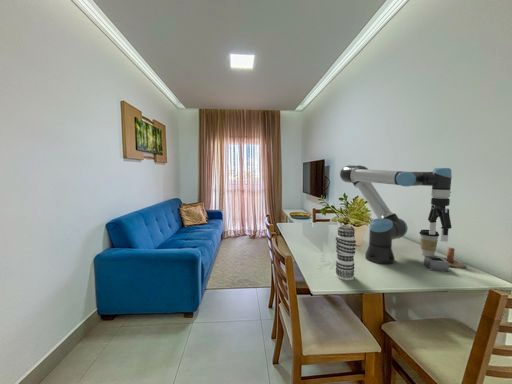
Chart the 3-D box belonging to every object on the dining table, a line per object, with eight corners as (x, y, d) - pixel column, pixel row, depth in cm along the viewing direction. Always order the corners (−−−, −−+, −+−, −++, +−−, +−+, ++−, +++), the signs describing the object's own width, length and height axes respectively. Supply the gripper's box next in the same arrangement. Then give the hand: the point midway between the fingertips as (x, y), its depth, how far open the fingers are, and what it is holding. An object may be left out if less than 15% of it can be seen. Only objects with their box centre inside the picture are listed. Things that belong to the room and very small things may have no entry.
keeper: (443, 266, 125) (444, 250, 124) (435, 259, 135) (436, 244, 134) (465, 268, 122) (467, 252, 121) (456, 261, 132) (457, 246, 131)
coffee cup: (441, 258, 137) (443, 233, 136) (422, 257, 139) (424, 232, 138) (432, 252, 146) (433, 229, 145) (415, 251, 148) (416, 228, 147)
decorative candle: (331, 276, 113) (332, 226, 111) (339, 270, 120) (341, 223, 118) (349, 282, 107) (351, 229, 105) (357, 276, 113) (359, 226, 111)
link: (430, 270, 120) (430, 260, 120) (424, 264, 128) (424, 255, 127) (448, 272, 118) (449, 262, 117) (441, 266, 125) (441, 257, 125)
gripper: (462, 200, 107) (459, 245, 109) (438, 195, 131) (435, 232, 132) (443, 200, 109) (440, 243, 111) (422, 195, 133) (420, 231, 135)
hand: (437, 237), depth 122 cm, fingers open, 13 cm apart
